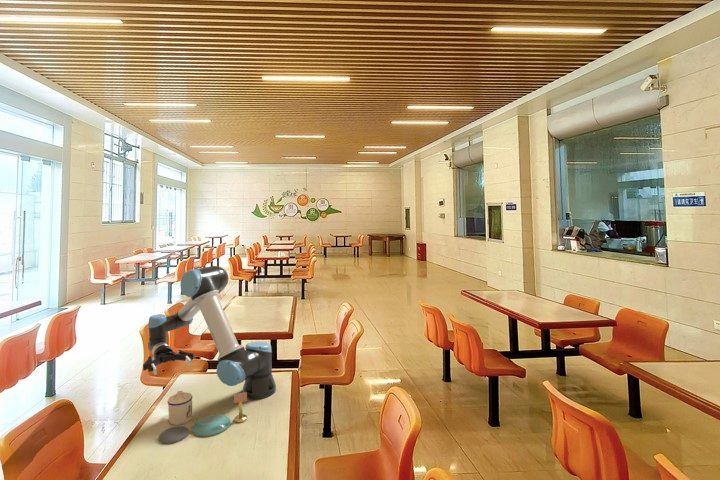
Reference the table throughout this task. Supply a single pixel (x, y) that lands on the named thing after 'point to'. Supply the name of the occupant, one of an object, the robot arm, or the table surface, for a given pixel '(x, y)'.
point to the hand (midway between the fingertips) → (173, 367)
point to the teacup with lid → (180, 408)
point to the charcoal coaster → (174, 435)
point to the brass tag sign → (240, 406)
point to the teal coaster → (211, 425)
